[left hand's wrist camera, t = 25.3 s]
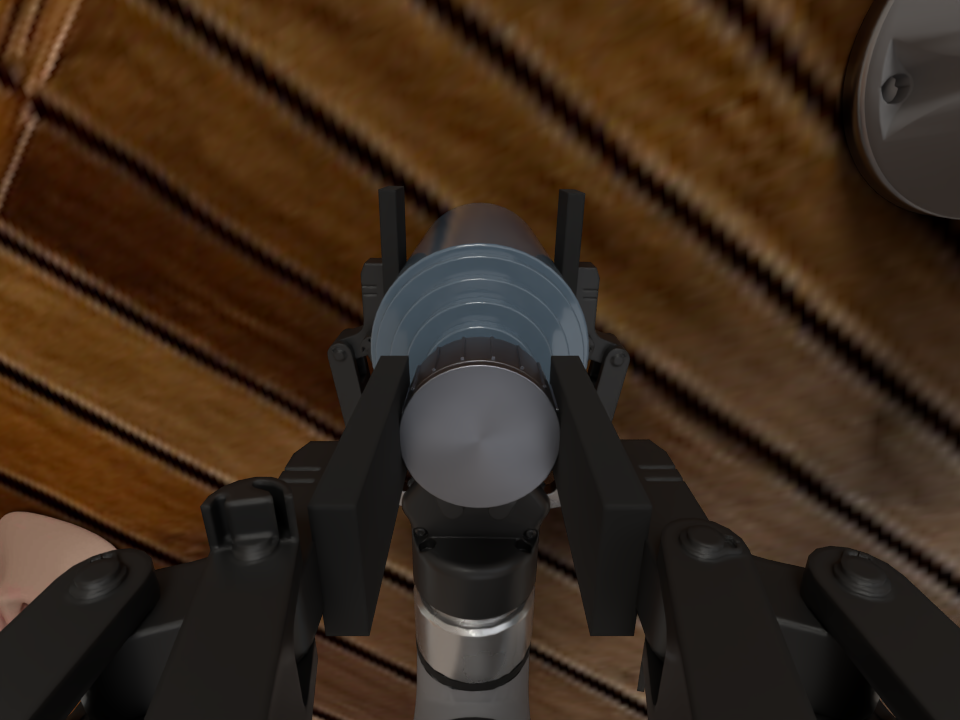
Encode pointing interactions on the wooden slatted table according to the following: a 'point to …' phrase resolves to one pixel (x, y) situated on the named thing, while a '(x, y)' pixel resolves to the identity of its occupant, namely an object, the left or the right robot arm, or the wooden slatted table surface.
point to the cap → (479, 423)
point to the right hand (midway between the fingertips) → (481, 190)
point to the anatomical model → (38, 557)
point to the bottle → (479, 292)
